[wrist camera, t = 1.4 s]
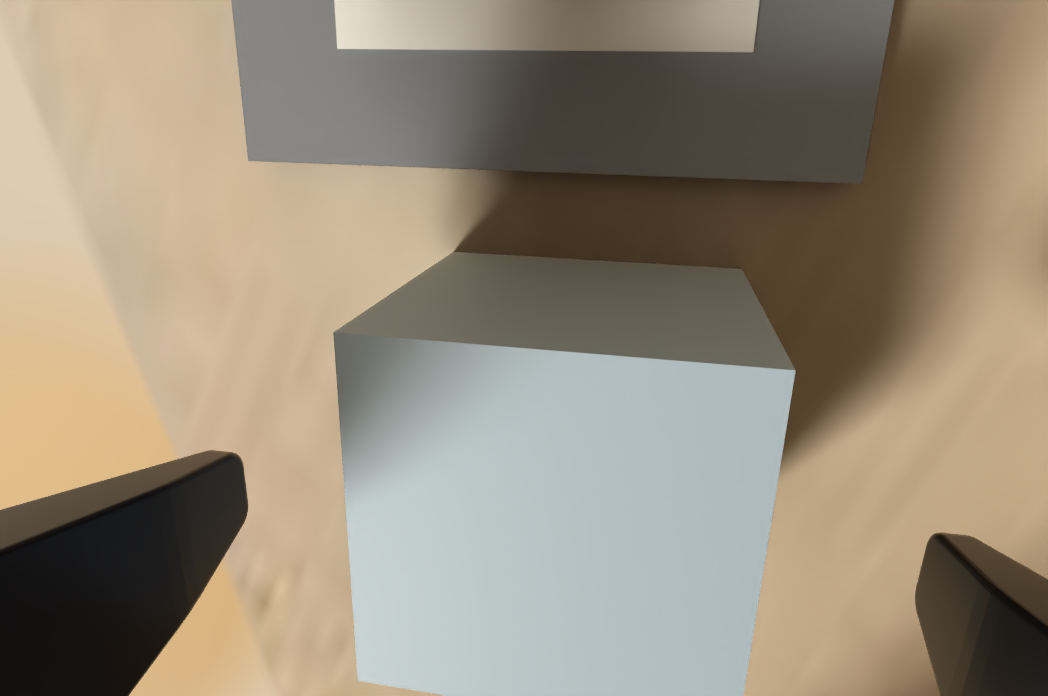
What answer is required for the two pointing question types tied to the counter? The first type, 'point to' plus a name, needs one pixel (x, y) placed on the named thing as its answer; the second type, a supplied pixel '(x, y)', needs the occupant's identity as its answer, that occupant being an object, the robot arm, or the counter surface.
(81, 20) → the counter surface
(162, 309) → the counter surface
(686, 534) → the bluegrey block
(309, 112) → the pad
